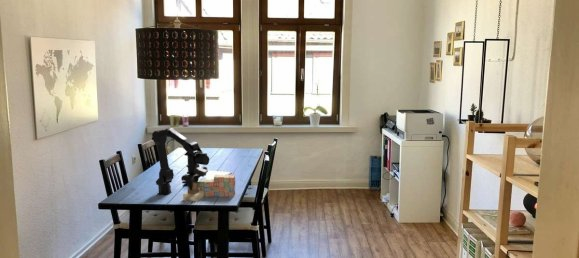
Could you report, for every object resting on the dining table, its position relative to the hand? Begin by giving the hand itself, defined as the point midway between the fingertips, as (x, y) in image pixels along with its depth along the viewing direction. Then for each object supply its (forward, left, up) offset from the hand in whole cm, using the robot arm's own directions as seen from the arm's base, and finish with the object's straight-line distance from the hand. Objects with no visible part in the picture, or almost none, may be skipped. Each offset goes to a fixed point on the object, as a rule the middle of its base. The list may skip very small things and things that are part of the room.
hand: (193, 188), depth 270 cm
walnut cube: (0, 0, -2) cm, 2 cm away
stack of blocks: (+11, +10, -6) cm, 16 cm away
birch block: (0, 0, -6) cm, 6 cm away
